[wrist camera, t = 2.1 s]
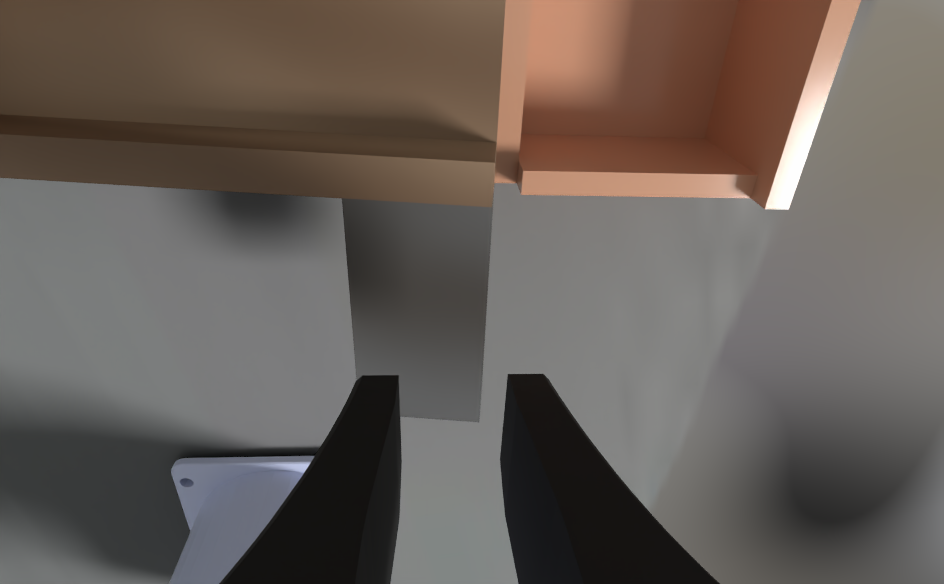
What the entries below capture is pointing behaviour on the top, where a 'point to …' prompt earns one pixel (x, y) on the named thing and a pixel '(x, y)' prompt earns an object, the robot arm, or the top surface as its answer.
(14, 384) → the top surface
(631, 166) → the cup
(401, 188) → the lever board
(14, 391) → the top surface
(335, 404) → the top surface
